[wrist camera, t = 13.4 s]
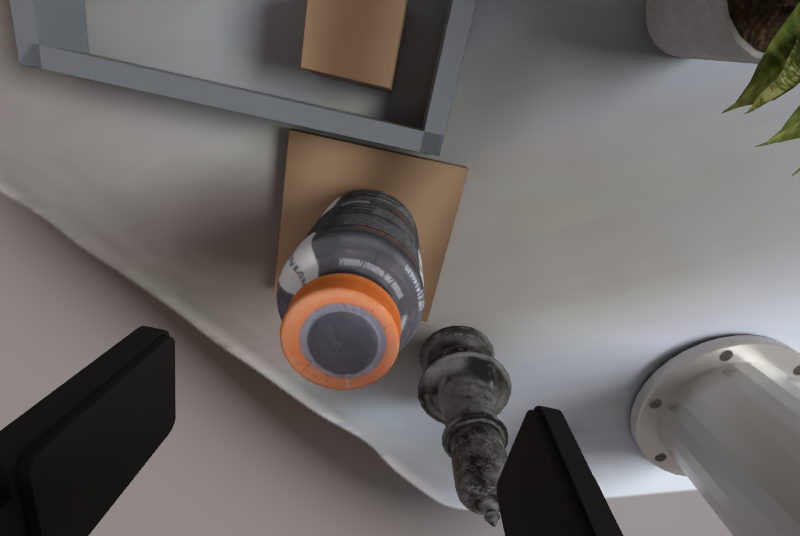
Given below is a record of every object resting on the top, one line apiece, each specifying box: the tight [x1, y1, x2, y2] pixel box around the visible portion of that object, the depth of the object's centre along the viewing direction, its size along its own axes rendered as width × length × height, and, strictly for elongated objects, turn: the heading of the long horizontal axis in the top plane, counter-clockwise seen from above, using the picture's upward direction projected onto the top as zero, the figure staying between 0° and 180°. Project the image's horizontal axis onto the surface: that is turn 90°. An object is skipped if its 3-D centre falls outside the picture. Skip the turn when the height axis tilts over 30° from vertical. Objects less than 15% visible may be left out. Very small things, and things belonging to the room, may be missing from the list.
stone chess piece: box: [418, 326, 511, 527], centre depth 22 cm, size 6×6×12 cm
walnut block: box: [301, 0, 408, 92], centre depth 18 cm, size 4×4×4 cm
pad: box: [274, 129, 468, 322], centre depth 23 cm, size 10×10×1 cm
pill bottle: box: [277, 189, 425, 390], centre depth 18 cm, size 6×6×11 cm
